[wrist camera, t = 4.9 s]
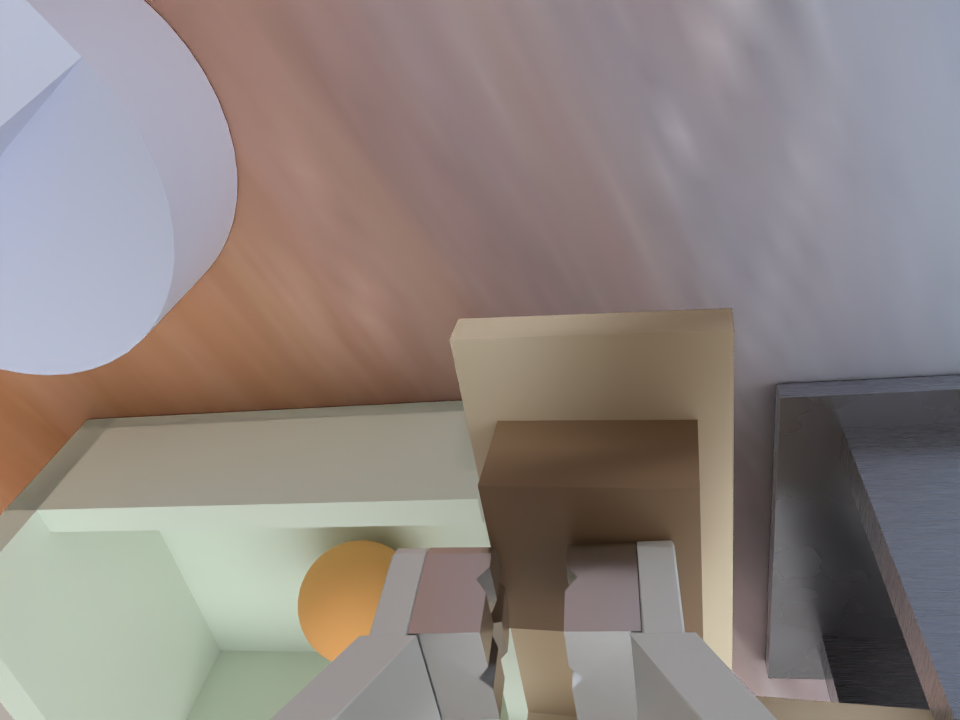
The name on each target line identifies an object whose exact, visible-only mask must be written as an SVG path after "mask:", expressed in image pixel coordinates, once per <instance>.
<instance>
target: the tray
mask: <svg viewBox="0 0 960 720" xmlns="http://www.w3.org/2000/svg"><path fill="white" fill-rule="evenodd" d="M478 483H479V477H478V473H477V468H476V463H475V458H474V454H473V449H472V444H471V440H470V435H469V430H468V425H467V421H466V416H465V411H464V407H463V402H462V400H459V401H440V402H420V403H401V404H381V405H361V406H342V407H322V408H303V409H283V410H264V411H244V412H225V413H205V414H186V415H166V416H147V417H127V418H108V419H88V420H87V421H86V422H85V423H84V424H83V425H82V426H81V427H80V428H79V429H78V430H77V431H76V433H75V434H74V435H73V436H72V437H71V438H70V439H69V440H68V441H67V442H66V444H65V445H64V446H63V447H62V448H61V449H60V450H59V451H58V452H57V453H56V455H55V456H54V457H53V458H52V459H51V460H50V461H49V462H48V463H47V464H46V466H45V467H44V468H43V469H42V470H41V471H40V472H39V473H38V474H37V475H36V477H35V478H34V479H33V480H32V481H31V482H30V483H29V484H28V485H27V486H26V487H25V489H24V490H23V491H22V492H21V493H20V494H19V495H18V496H17V497H16V498H15V500H14V501H13V502H12V503H11V504H10V505H9V506H8V507H7V508H6V509H5V511H4V512H3V513H2V514H1V515H0V702H1V703H2V705H3V706H4V707H5V709H6V710H7V711H8V713H9V714H10V715H11V717H12V718H13V719H14V720H270V719H271V718H272V717H273V716H274V715H275V714H276V713H277V712H279V711H280V710H281V709H282V708H283V707H284V706H285V705H286V704H287V703H288V702H289V701H290V700H291V699H292V698H294V697H295V696H296V695H297V694H298V693H299V692H300V691H301V690H302V689H303V688H304V687H305V686H306V685H307V684H309V683H310V682H311V681H312V680H313V679H314V678H315V677H316V676H317V675H318V674H319V673H320V672H321V671H322V670H323V669H325V668H326V667H327V666H328V665H329V664H330V663H331V661H329V660H328V659H326V658H324V657H323V656H322V655H320V654H319V653H318V652H317V651H316V650H315V649H314V648H313V647H312V646H311V645H310V643H309V642H308V640H307V639H306V637H305V635H304V633H303V631H302V628H301V625H300V622H299V617H298V596H299V591H300V587H301V584H302V582H303V579H304V577H305V575H306V573H307V571H308V570H309V568H310V567H311V566H312V564H313V563H314V562H315V561H316V560H317V559H318V558H319V557H320V556H321V555H322V554H324V553H325V552H326V551H328V550H329V549H331V548H333V547H335V546H337V545H339V544H342V543H345V542H349V541H356V540H368V541H374V542H378V543H381V544H384V545H386V546H388V547H390V548H392V549H393V550H395V551H396V550H397V549H398V548H446V547H491V546H490V541H489V536H488V532H487V527H486V522H485V518H484V513H483V508H482V504H481V499H480V494H479V490H478ZM501 663H502V668H503V672H504V677H505V681H504V690H503V699H502V707H501V716H500V720H527V717H528V709H527V704H526V699H525V694H524V690H523V685H522V680H521V676H520V671H519V666H518V661H517V657H516V652H515V647H514V643H513V638H512V633H511V628H509V642H508V652H507V653H506V654H505V655H504V656H503V658H502V659H501Z"/></svg>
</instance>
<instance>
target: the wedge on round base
mask: <svg viewBox="0 0 960 720" xmlns="http://www.w3.org/2000/svg"><path fill="white" fill-rule="evenodd" d="M236 203H237V168H236V159H235V151H234V147H233V143H232V139H231V135H230V131H229V127H228V124H227V121H226V119H225V116H224V113H223V111H222V108H221V106H220V103H219V100H218V98H217V96H216V94H215V92H214V90H213V88H212V87H211V85H210V83H209V81H208V79H207V77H206V75H205V73H204V71H203V70H202V68H201V67H200V65H199V64H198V62H197V61H196V59H195V58H194V56H193V55H192V53H191V52H190V50H189V49H188V47H187V46H186V45H185V44H184V42H183V41H182V40H181V39H180V38H179V36H178V35H177V34H176V33H175V32H174V30H173V29H172V28H171V27H170V26H169V24H168V23H167V22H166V21H165V20H164V19H163V18H162V17H161V16H160V15H159V14H158V13H157V12H156V11H155V10H154V9H153V8H152V7H151V6H150V5H149V4H147V3H146V2H145V1H144V0H0V369H2V370H7V371H12V372H18V373H23V374H37V375H60V374H72V373H77V372H82V371H87V370H91V369H94V368H97V367H99V366H102V365H105V364H107V363H110V362H112V361H114V360H115V359H117V358H119V357H120V356H122V355H124V354H126V353H127V352H128V351H130V350H131V349H132V348H133V347H134V346H135V345H137V344H138V343H139V342H140V341H141V340H142V339H143V338H144V337H145V336H146V335H147V334H148V333H149V332H150V331H151V330H152V329H153V328H154V327H155V326H156V325H157V324H158V323H159V322H160V320H161V319H162V318H163V317H164V316H165V315H166V314H167V313H168V312H169V311H170V310H171V309H172V308H173V307H174V306H175V305H176V304H177V302H178V301H179V300H180V299H181V298H182V297H183V296H184V295H185V294H186V293H187V292H188V291H189V290H190V289H191V288H192V287H193V286H194V285H195V283H196V282H197V281H198V280H199V279H200V278H201V277H202V276H203V275H204V274H205V273H206V272H207V270H208V269H209V268H210V267H211V265H212V264H213V263H214V262H215V260H216V259H217V258H218V256H219V254H220V252H221V251H222V249H223V247H224V245H225V243H226V241H227V239H228V236H229V233H230V230H231V227H232V224H233V221H234V215H235V209H236Z"/></svg>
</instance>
